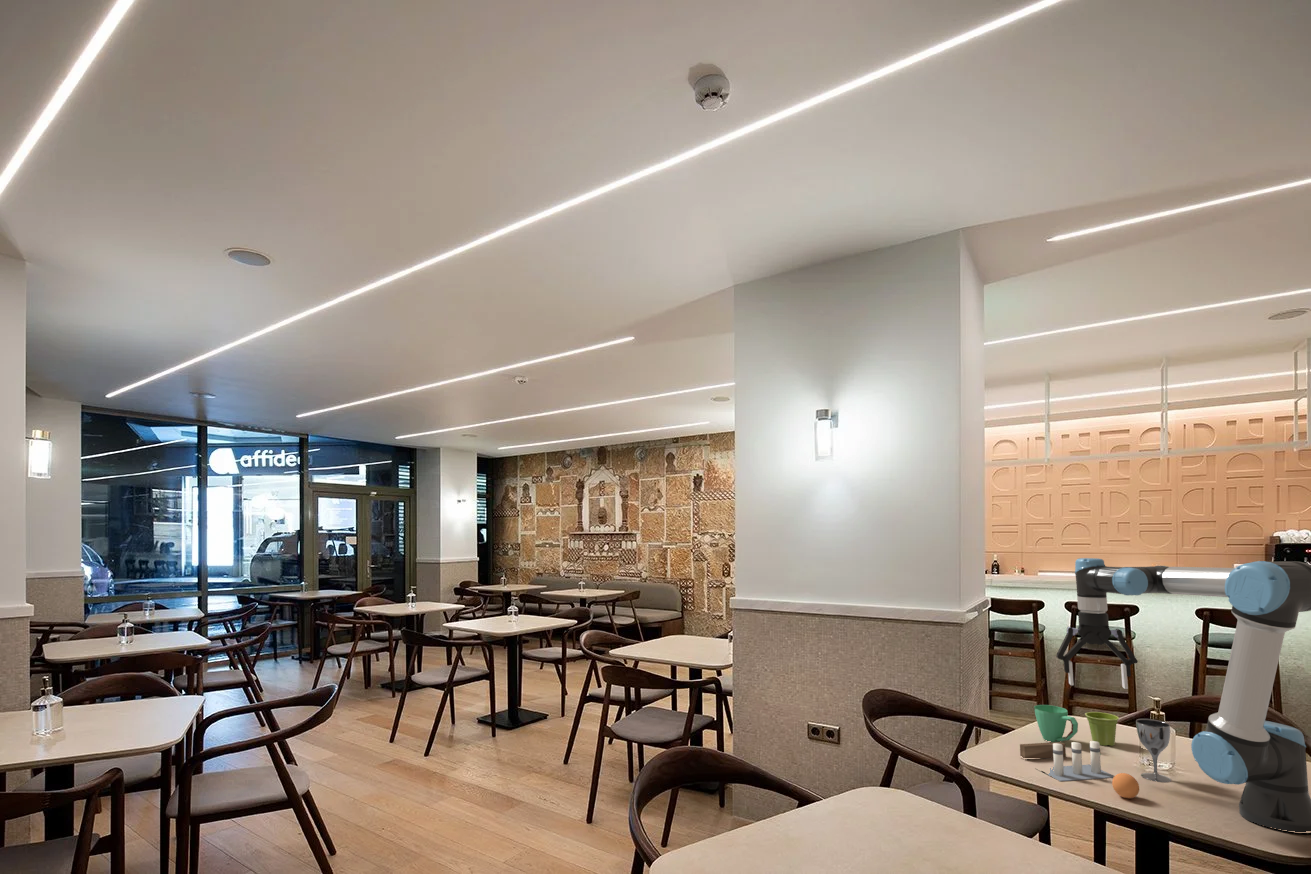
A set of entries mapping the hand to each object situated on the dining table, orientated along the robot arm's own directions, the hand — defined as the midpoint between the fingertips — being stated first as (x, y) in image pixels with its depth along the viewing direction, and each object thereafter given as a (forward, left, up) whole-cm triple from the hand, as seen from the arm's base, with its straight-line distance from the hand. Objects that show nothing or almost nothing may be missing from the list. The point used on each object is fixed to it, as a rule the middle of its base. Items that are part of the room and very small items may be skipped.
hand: (1097, 686), depth 211 cm
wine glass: (-6, -12, -24) cm, 28 cm away
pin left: (0, +14, -24) cm, 28 cm away
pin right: (0, +2, -24) cm, 24 cm away
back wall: (+14, +8, -24) cm, 29 cm away
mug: (+26, -7, -24) cm, 36 cm away
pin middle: (0, +8, -24) cm, 25 cm away
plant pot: (+23, -21, -24) cm, 40 cm away
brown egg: (-17, +8, -21) cm, 28 cm away
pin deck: (+1, +8, -24) cm, 25 cm away
